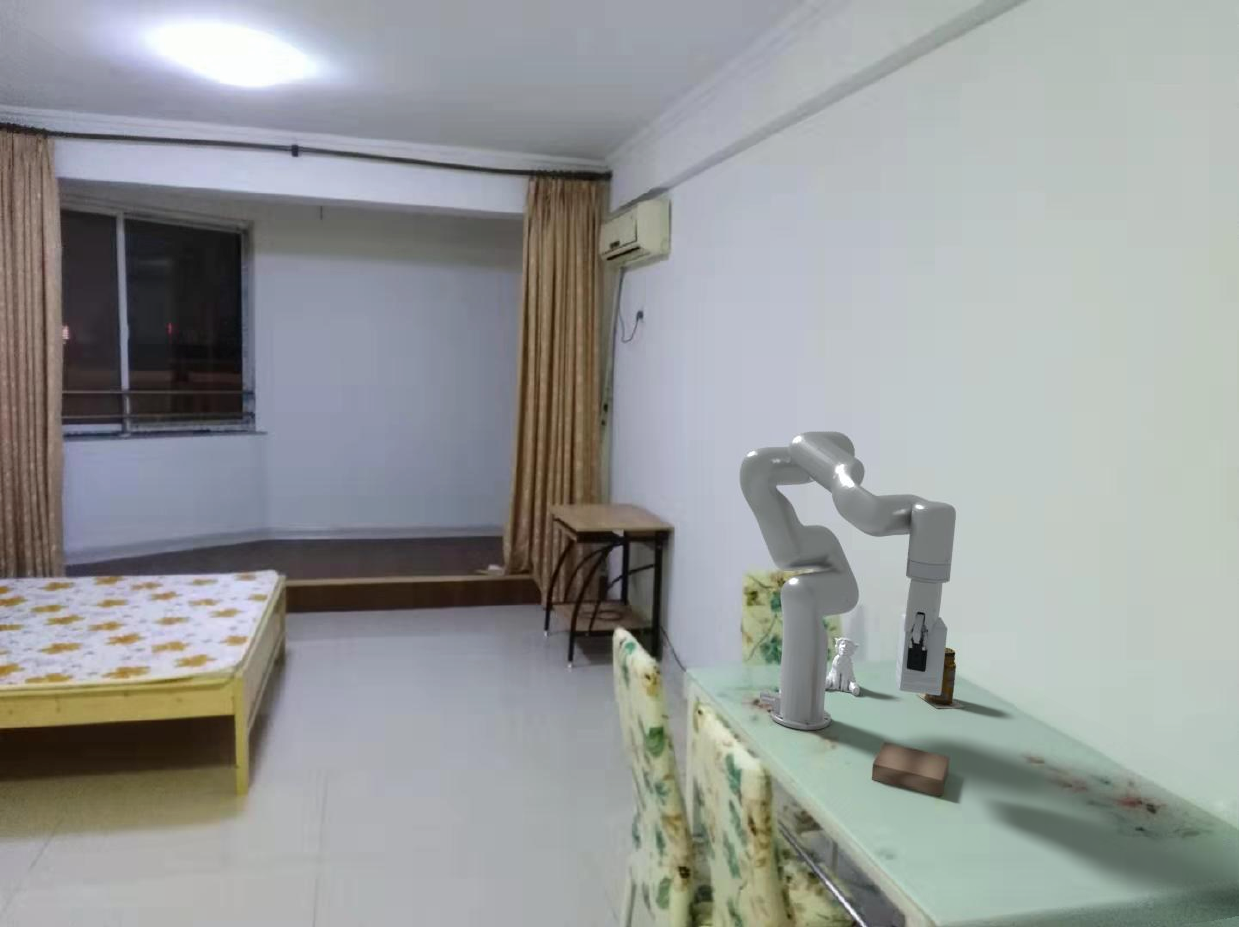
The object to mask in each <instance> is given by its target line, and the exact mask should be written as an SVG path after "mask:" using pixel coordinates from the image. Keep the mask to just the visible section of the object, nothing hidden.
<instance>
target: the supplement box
mask: <svg viewBox="0 0 1239 927" xmlns="http://www.w3.org/2000/svg"><path fill="white" fill-rule="evenodd" d="M905 617H906V613H901V614H900V620H899V632H898V645H897V653H896V654H897V655H896V665H895V675H894V678H895V681H896V684H897V686H898V690H899V691H901V692H907V693H915V694H931V695H941V689H942V679H943V668H944V658H945V647H946V646H947V645H946V644H947V636H948V635H947V634H948V627H947V625H946V624H945V622H944V621H943V619H942V617H940V616H939V618H938V621H937V623H936V624H935V626H934V629H933V633H932V635H931V636H929V637H928V639H927V645H926V650H927V661H926V670H925V672H921V671H915V670H910V669H907V657H908V647H909V644H910V638H911V632H912V629H914V625H915V624H914V625H913V627H912V629H911V631H910V632H909V631H907V633H906V632H905V631H904V624H905ZM924 622H925V619H924ZM922 632H926V626H925V625H923V627H922ZM921 638H923V640H924V637H921ZM946 648H947V647H946Z"/></svg>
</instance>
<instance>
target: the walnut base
mask: <svg viewBox="0 0 1239 927" xmlns="http://www.w3.org/2000/svg"><path fill="white" fill-rule="evenodd" d="M949 765H950V756H948V755H942V754H938V753H934V752H930V751H926V750H921V749H916V748H913V747H907V746H904V745H900V744H899V745H898V744H896V743H889V742H883V744H882V745H881V747H880V750H879V751H878V753H877V755H876V757H875V759H874V761H873V763H872V771H871V772H872V773H871V780H872V781H876V782H880V783H884V784H888V785H893V786H897V787H899V788H900V787H901V788H906V789H910V790H913V791H918V792H921V793H926V794H929V795H934V796H938V797H941V796H942V792H943V790H944V786H945V783H946V780H947V777H948V773H949V767H950V766H949Z"/></svg>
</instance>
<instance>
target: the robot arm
mask: <svg viewBox="0 0 1239 927" xmlns="http://www.w3.org/2000/svg"><path fill="white" fill-rule="evenodd" d="M855 451H856V449H855V446H854V444H853V442H852V440H851V439H850V438H849V437H848V436H847V435H846V434H844V433H842V432H838V431H805V432H802V433H800V434H797V435H796V436H795V437H793V439H791V441H790V443H789V445H788V446H772V447H771V446H769V447H768V446H767V447H761V448H756V449H754V450H752V451H750V452H748V453H747V454H746V455H745V457H743V459H742V462H741V464H740V468H739V484H740V488H741V493H742V494H743V497H744V498H745V499H744V500H746V503H747V504H748V506H749V508H750V509H751V512H752V513H753V515H754V517H755V519H756V522H757V524H758V526H759V527H758V528H759V529H760V533H761V535H762V537H763V540H764V542H765V545H766V547H767V550H768V553H769V555H770V556H771V559H772V562H773V563H774V565H775V566H776V567H777V569H779V570H781V571H785V572H796V571H805V570H812V572H811V571H810V572H804V573H799V574H796V575H795V574H794V575H793V576H791V577H789V578H788V579H787V580H786V581H785V582H784V583H783V584H782V587H781V590H780V606H781V612H782V642H781V645H782V647H781V659H780V661H781V662H780V675H779V690H778V691H775V692H770V691H769V690H767V691H766V690H761V691H760V692H759V699H760V700H761V703H762V704H769V705H772V707H771V708H770V713H769V714H770V717H771V718H772V720H773V721H775V722H776V723H778V724H779V725H783V726H784V727H788V728H791V729H797V730H805V731H812V730H814V731H815V730H820V729H824V728H826V727H828V726H829V725H830V724H831V720H832V719H831V718H832V717H831V715H830V713H829V712H828V711H827V710H825V696H826V690H825V686H826V677H827V671H828V659H829V658H828V655H829V636H828V631H827V629H826V627H825V624H824V622H823V618H826V617H829V616H830V617H831V616H836V615H841V614H842V615H843V614H846V613H849V612H851V611H852V610H854V609H855V608H856V606H857V605H858V602H859V597H860V595H859V594H860V591H859V586H858V583H857V580H856V578H855V574H854V572H853V570H852V568H851V566H850V562H849V560H848V558H847V556H846V554H845V551H844V550H843V547H842V545H841V543H840V541H839V539H838V537H837V536H836V534H835V533H834V532H833V531H832V530H831V529H830V528H828V527H826V526H824V525H821V524H820V525H817V524H810V525H804V524H802V523H801V521H800V519H799V516H798V515H797V512H796V510H795V507H794V506H793V504H792V503H791V501H790V500H789V499H788V498H787V497H786V495H784V494H783V492H781V491H780V490H779V489H778V487H777V486H795V485H797V486H798V485H804V484H810V483H813V482H816V483H817V484H818V485H820V486H821V487H822V488H824V489H825V490H827V491H828V492H829V493H830V494H831V498H832V501H833V504H834V506H835V509H836V511H837V513H838V514H839V515H840V516H841V517H842V518H843V520H845V521H847V522H848V523H850V524H851V525H852V526H854V528H856V529H858V530H859V531H860V532H862V533H864V534H866V535H868V536H871V537H876V538H877V537H878V538H882V537H891V536H905V535H909V537H908V551H907V559H906V572H905V576H906V577H907V578H908V579H910V582H909V587H908V588H909V589H908V595H907V602H906V609H905V614H906V617H905V624H904V631H905V632H906V633H907V631H909V632H910V631H911V629H912V627H913V625H914V624H915V625H914V629H912V632H911V638H910V644H909V647H908V657H907V669H910V670H915V671H921V672H925V670H926V661H927V650H926V645H927V639H928V637H929V636H931V635H932V633H933V629H934V626H935V624H936V623H937V621H938V618H939V617H940V612H941V611H940V610H941V603H942V601H941V600H942V594H943V584H946V583H949V582H950V580H951V573H952V572H951V569H952V560H953V559H952V558H953V550H954V548H953V547H954V542H955V541H954V540H955V531H956V530H955V528H956V520H957V519H956V518H957V513H956V509H955V507H954V506H953V505H952V504H948V503H945V502H941V501H933V500H932V501H931V500H928V499H925V498H923V497H921V496H918V495H916V494H909V493H906V494H903V493H902V494H883V495H876V494H873V493H872V492H871V491H869V490H867V489H866V488H865V487H863V486H862V484H863V481H864V477H865V472H866V471H865V467H864V464H863V462H862V461H861V460H860V459H858V458H856V457H855V456H856V453H855ZM924 619H925V622H924ZM923 625H925V626H926V632H922V627H923ZM921 637H924V640H923V638H921Z"/></svg>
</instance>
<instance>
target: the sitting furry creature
mask: <svg viewBox="0 0 1239 927" xmlns="http://www.w3.org/2000/svg"><path fill="white" fill-rule="evenodd" d="M834 641H835V643H836V644H835V645H834V648H835V653H836V654H837V655H835V657H834V659H833V660H832V665H831V670H830V671H829V673H828V674H827V675H826V686H825V691H826V690H833V691H835V690H836V691H841V692H846V693H851V694H852V695H853V696H855V697H857V696H858V695H859V694H860V692H861V691H860V690H861V687H860V684H858V682H857V680H856V677H855V673H854V670H853V667H854V666H853V661H852V658H851V656H852V655H854V654H855V651H856V650H858V647H859V645H860V643H856V644H855V643H854V641H853V640H852V639H850V638H849V637H839V638H836V637H834Z"/></svg>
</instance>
